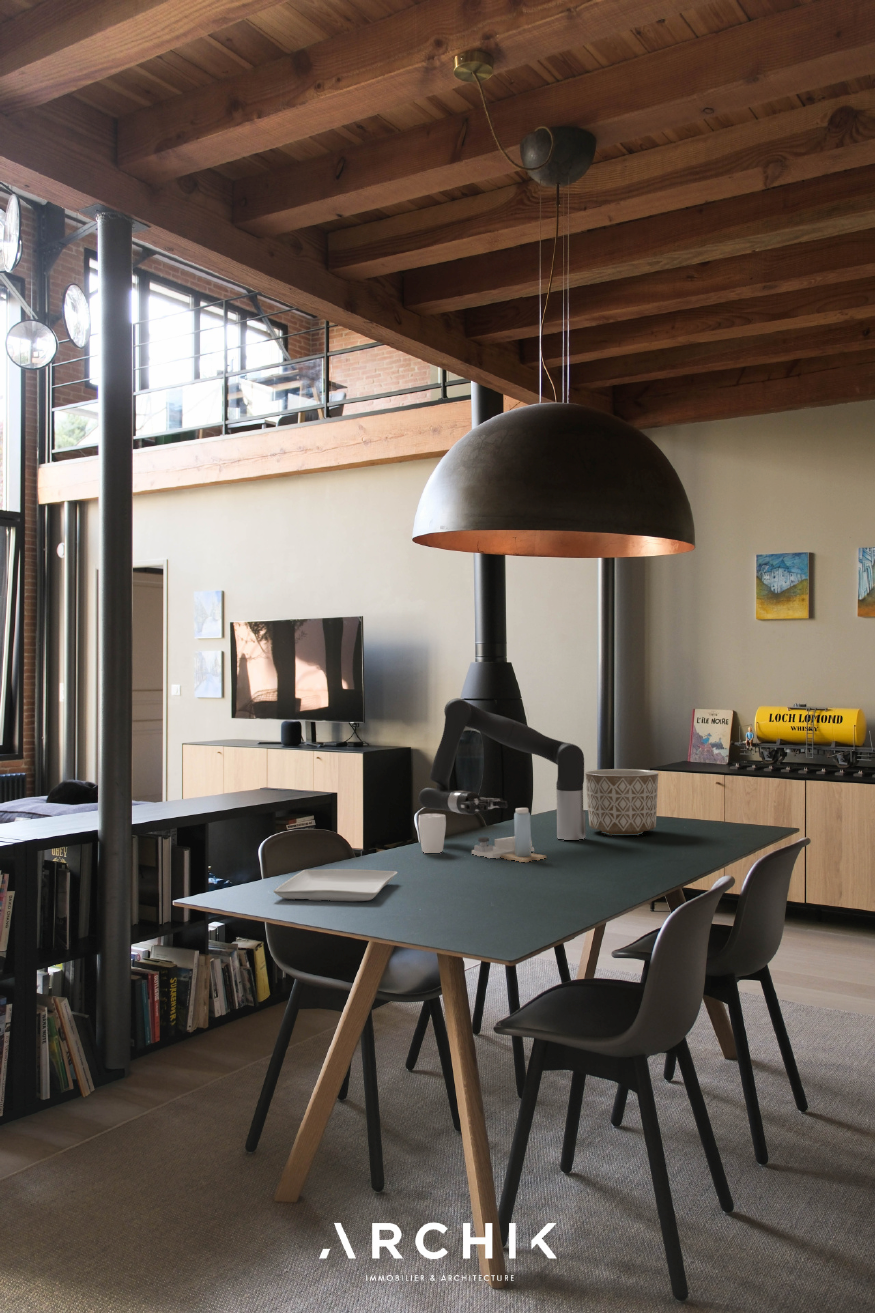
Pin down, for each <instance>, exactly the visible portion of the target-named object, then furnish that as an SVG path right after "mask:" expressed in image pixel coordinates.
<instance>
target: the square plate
mask: <svg viewBox="0 0 875 1313" xmlns="http://www.w3.org/2000/svg"><path fill="white" fill-rule="evenodd" d="M397 874H398V871H396V870H394V871H393V870H378V869H376V870H375V869H357V868H356V869H355V868H354V869H353V868H350V869H349V868H347V869H345V868H344V869H343V868H339V869H338V868H336V869H335V868H333V869H331V868H330V869H329V868H328V869H303V870H301V871H300V872H298V873H296V874H295V875H294V876H292V877H291V878H289V879H287V880H286V881H285V882H283V883H282V884H280V885H279V886H278V887H276V888H275V889H274V890H273V893H275V895H276V896H278V897H279V898H282V899H285V900H295V899H309V900H308V901H321V900H328V901H329V900H330V902H365V901H366V902H369V901H371V900H373V899H374V898H375V897H376V896H377V895H378V893H380V891H381V890H382V889H384V887H385V886H387V885H388V884H389V883H390V882H391V881H392V880H393V879H394V877H395V876H396V875H397ZM328 901H327V902H328Z"/></svg>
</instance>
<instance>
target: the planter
mask: <svg viewBox="0 0 875 1313" xmlns="http://www.w3.org/2000/svg"><path fill="white" fill-rule="evenodd" d="M584 776H585V784H586V785H585V786H586V787H585V789H586V797H587V798H586V799H587V811H588V824H589V827H590V828H591V829H593V830H596V831H602V832H606V833H609V834H638V833H641V832H644V833H645V832H647V831H651V830H654V829H655V828H656V826H657V812H658V811H657V810H658V809H657V808H658V793H659V791H658V790H659V789H658V788H659V786H658V785H659V772H658V771H655V770H647V769H637V768H636V769H634V768H631V769H628V768H612V769H611V768H610V769H608V768H607V769H605V768H604V769H593V770H592V769H591V770H587V771H584ZM602 832H601V833H602Z"/></svg>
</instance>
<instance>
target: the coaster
mask: <svg viewBox="0 0 875 1313" xmlns="http://www.w3.org/2000/svg"><path fill="white" fill-rule="evenodd" d="M501 858H504V859H503V860H506V859H507V861H511V860H515V861H514V862H516V861H519V862H518V863H521V862H525V863H530V862H529V861H531V862H533V861H532V860H537V861H541V860H540V859H543V860H545V859H544V858H546V859H547V855H545V854H539V853H535V852H533V853H531V856H528V857H518V856H515V853H512V854H506V855H501ZM501 858H500V859H501Z"/></svg>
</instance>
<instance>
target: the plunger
mask: <svg viewBox="0 0 875 1313" xmlns="http://www.w3.org/2000/svg"><path fill="white" fill-rule="evenodd" d="M477 841H478V842H480V844H479V845H480V846H482V847H485V846H487V845H488V842H490V838H489V837H487V836H486V837H485V836H484V837H483V836H481V837H478V839H477Z"/></svg>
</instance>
